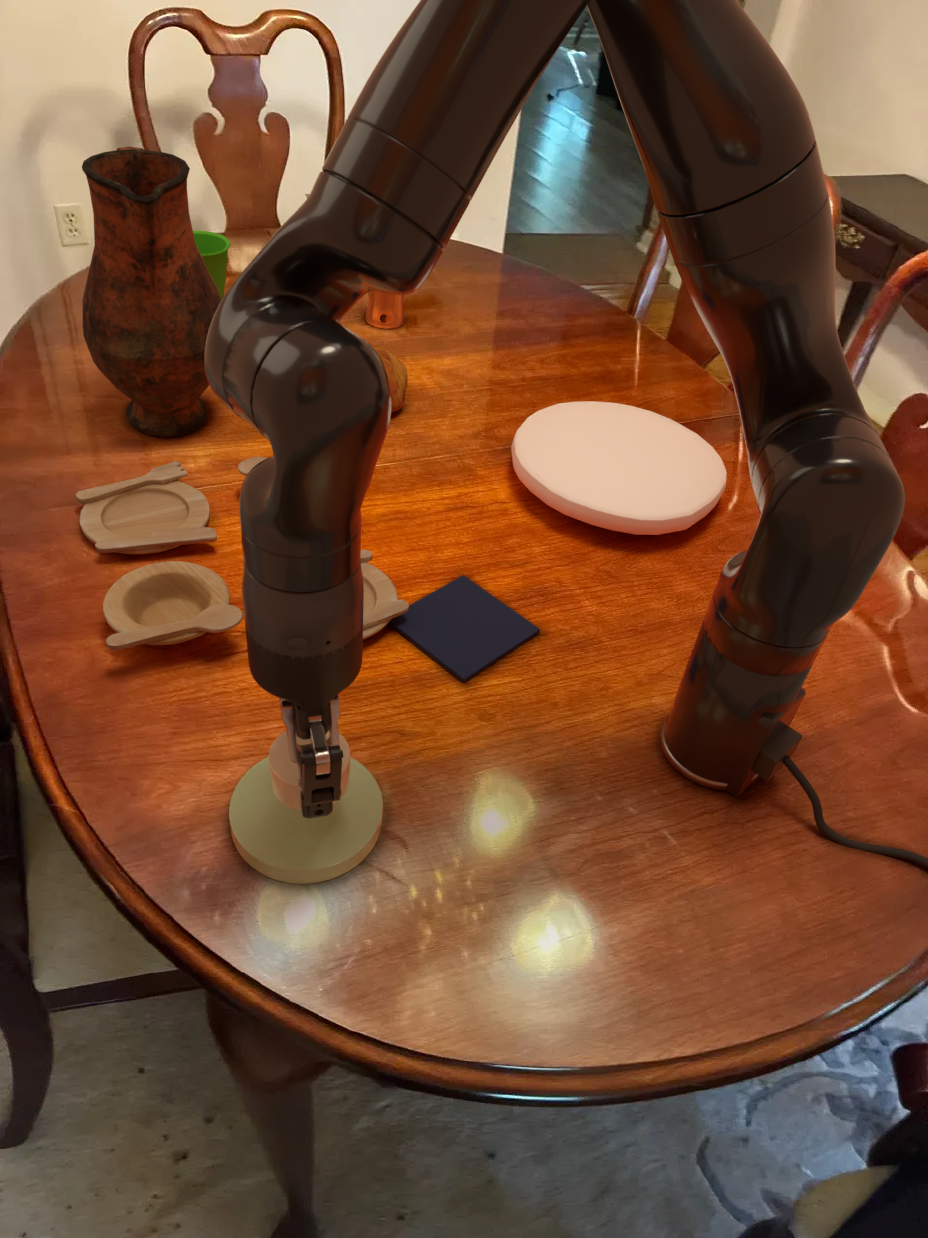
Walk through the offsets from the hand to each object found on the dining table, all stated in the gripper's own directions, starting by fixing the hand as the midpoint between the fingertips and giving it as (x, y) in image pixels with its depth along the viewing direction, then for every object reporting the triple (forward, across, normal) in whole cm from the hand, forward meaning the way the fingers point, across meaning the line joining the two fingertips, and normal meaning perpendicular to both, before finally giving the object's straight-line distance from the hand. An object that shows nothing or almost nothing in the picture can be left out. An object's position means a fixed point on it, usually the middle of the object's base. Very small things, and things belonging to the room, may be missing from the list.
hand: (310, 777), depth 70 cm
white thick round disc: (+6, +43, -45) cm, 62 cm away
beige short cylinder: (0, 0, 0) cm, 0 cm away
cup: (+6, +94, +1) cm, 94 cm away
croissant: (+6, +67, -16) cm, 69 cm away
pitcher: (+6, +67, +8) cm, 68 cm away
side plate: (+6, 0, 0) cm, 6 cm away
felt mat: (+6, +20, -18) cm, 28 cm away
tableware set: (+5, +34, +2) cm, 34 cm away
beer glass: (+6, +91, -26) cm, 95 cm away
